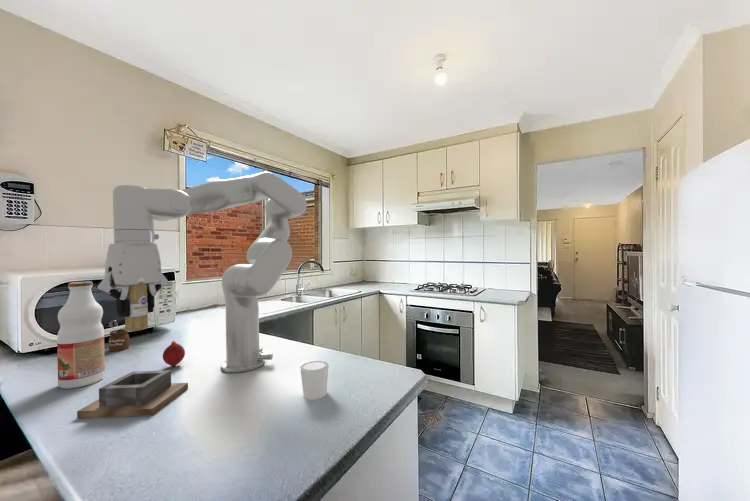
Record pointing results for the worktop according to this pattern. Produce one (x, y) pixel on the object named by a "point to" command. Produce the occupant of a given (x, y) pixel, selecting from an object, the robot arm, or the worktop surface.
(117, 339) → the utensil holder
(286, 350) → the worktop surface
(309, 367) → the white cup
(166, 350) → the onion
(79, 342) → the fruit juice
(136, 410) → the socket stand
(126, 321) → the sprinkles bottle
